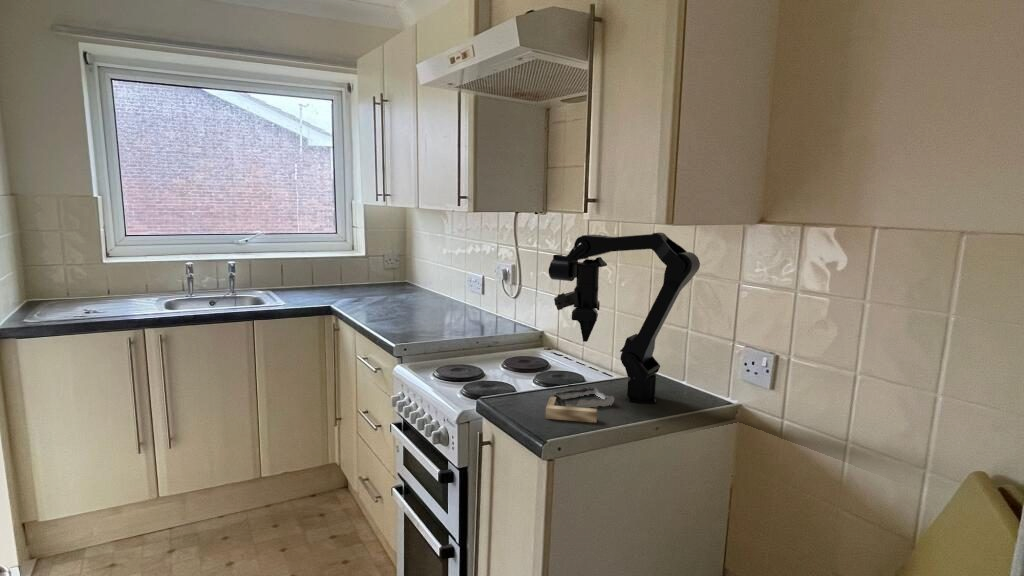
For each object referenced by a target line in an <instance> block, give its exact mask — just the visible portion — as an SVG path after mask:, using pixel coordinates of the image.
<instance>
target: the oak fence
mask: <svg viewBox="0 0 1024 576" xmlns="http://www.w3.org/2000/svg"><path fill="white" fill-rule="evenodd" d="M545 419H547V420H559V421H571V422H581V423H593V422H594V424H595V423H597V422H598V421H597V420H598V408H577V407H565V406H561V405H557V403H556V397H555V396H549V399H548V401H547V404H546V407H545Z"/></svg>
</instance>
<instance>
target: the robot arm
mask: <svg viewBox="0 0 1024 576" xmlns="http://www.w3.org/2000/svg"><path fill="white" fill-rule="evenodd" d="M641 250H642V251H643V250H652V251H653V252H654V253H655V255H656V256H657V258H659V260H660V261H661V262H662V263H663V264H664V265H665V266H666V267H665V270H664V274H663V283H662V286H661V288H660V290H659V293H658V295H656V298H655V300H654V302H653V303H652V305H651V308H650V310H649V312H648V314H647V316H646V318H645V320H644V321H643V324H642V326H641V328H640V329H639V332H638V333H635V334H632V335H630V336H628V337H626V339H625V342H624V345H623V347H622V348H621V349H620V350H619V352H620V353H621V354H620V361H621V364H622V366H623V367H624V369H625V372H626V375H627V377H628V378H627V379H626V380H627V383H626V386H627V387H626V397H627V398H628V402H631V403H632V402H634V403H645V404H656V403H657V402H656V401H657V400H656V388H657V387H656V384H657V383H656V382H657V381H656V380H657V377H656V374H658V373H659V370H660V369H661V365H660V363H659V362H658V361H657V360H656V359H655V357H654V356H653V354H654V351H655V348H656V347H655V346H656V345H655V344H656V339H657V336H658V335H659V333H660V331H661V329H662V327H663V325H664V324H665V321H666V319H667V317H668V315H669V314H670V311H671V310H672V308H673V306H674V304H675V302H676V300H677V299H678V297H679V294H680V293H681V291H682V289H684V288H685V286H686V285H687V284H689V282H690V281H691V280H692V279H693V277H694V276H695V275H696V273H697V272H698V271H699V269H700V268H701V267H700V266H701V263H700V259H699V258H698V256H697V254H695V253H694V252H691V251H687V250H685V249H684V248H683V247H682V246H681V245H679V244H678V243H676V242H675V241H673V240H672V239H671V238H669V237H668V235H666V234H665V233H664V232H652V233H648V234H639V235H638V234H637V235H623V236H607V235H601V234H583V235H580V236H578V237H577V238H576V239H575V242H574V245H573V247H572V249H571V250H570V251H569V253H568V254H567V255H563V254H553V256H552V260H551V261H550V264H549V267H548V276H549V278H550V280H551V279H552V280H555V281H566V282H573V281H574V280H575V279H576V284H575V287H574V288H573V291H569V292H567V293H565V292H562V293H560V294H557V296H555V297H554V298H553V300H554V306H555V307H556V310H557V311H560V310H563V309H565V308H568V307H572V306H573V308H574V309H573V310H572V311H571V321H577V322H578V323H579V327H580V332H581V338H582V341H583V343H587V342H588V341H589V338H590V335H591V334H592V332H593V330H594V327H595V325H596V322H597V320H598V316H599V313H598V311H600V306H601V305H600V304H601V303H600V301H599V280H600V278H599V273H600V268H603V267H606V266H608V264H607V263H606V262H605V260H603V258H602V257H601V255H605V254H609V253H612V252H624V251H626V252H627V251H641ZM597 256H598V257H597ZM591 257H596V258H595V259H588V258H591ZM580 260H583V261H580Z"/></svg>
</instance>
